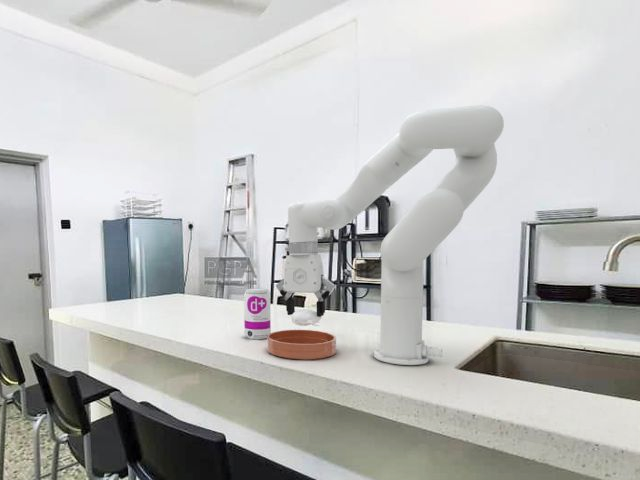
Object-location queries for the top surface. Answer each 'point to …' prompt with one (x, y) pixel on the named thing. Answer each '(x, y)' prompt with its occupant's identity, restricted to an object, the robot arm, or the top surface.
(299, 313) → the garlic
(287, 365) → the top surface
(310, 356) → the bowl
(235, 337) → the top surface
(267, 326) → the supplement can
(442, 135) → the robot arm
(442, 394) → the top surface
